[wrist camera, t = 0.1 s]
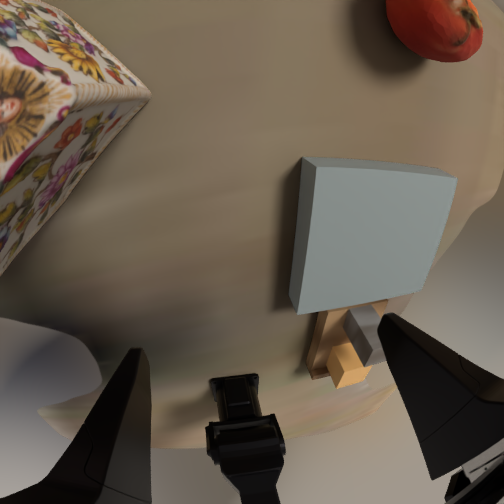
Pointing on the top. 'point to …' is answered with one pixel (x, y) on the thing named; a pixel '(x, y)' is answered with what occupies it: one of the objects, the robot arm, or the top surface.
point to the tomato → (437, 27)
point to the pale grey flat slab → (365, 230)
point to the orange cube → (345, 366)
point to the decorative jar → (52, 113)
